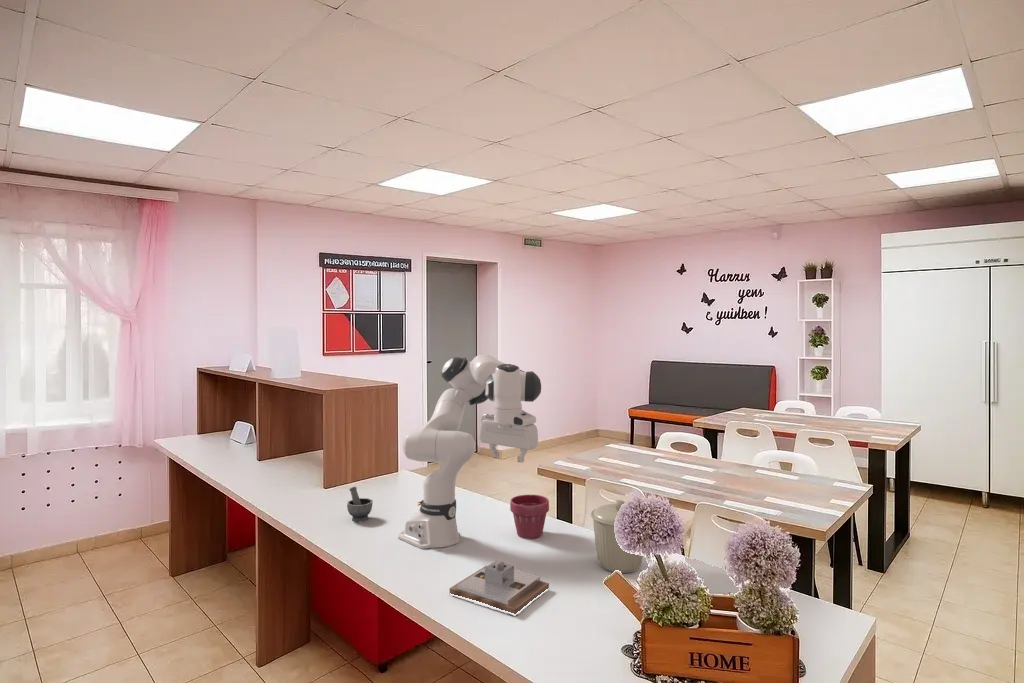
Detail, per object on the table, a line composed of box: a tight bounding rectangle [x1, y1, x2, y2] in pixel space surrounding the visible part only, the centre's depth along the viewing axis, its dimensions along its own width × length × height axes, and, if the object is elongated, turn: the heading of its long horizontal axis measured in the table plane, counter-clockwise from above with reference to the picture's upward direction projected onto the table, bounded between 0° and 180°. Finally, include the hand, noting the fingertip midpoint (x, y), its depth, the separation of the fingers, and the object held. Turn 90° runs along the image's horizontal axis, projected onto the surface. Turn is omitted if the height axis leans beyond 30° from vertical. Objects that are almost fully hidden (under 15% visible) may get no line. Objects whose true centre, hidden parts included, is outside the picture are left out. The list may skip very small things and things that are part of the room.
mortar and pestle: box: [346, 486, 374, 523], centre depth 224 cm, size 11×9×12 cm
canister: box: [590, 499, 644, 574], centre depth 179 cm, size 18×18×21 cm
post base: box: [449, 560, 550, 614], centre depth 162 cm, size 22×18×8 cm
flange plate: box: [458, 560, 541, 606], centre depth 162 cm, size 17×17×6 cm
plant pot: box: [509, 494, 550, 540], centre depth 207 cm, size 14×14×13 cm
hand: (508, 459), depth 180 cm, fingers open, 8 cm apart
